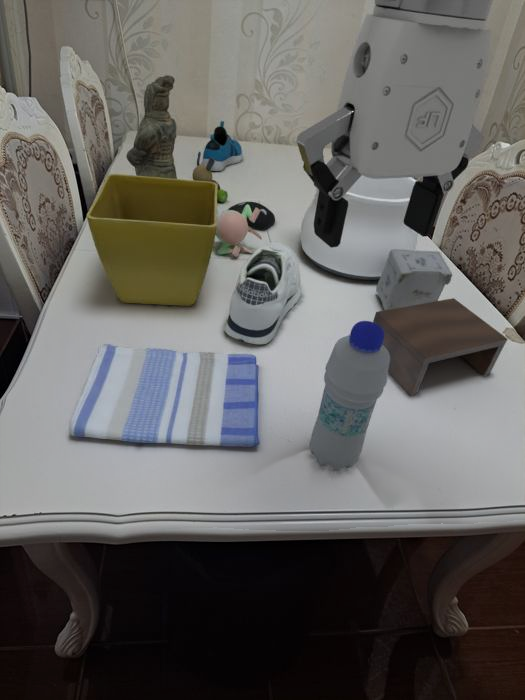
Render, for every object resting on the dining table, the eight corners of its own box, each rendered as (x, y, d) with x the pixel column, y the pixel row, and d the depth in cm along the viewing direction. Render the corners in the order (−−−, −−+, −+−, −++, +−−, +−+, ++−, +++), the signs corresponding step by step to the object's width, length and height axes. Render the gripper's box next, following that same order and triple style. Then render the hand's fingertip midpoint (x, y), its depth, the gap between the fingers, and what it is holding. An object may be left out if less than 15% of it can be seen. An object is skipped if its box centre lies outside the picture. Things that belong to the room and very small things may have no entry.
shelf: (489, 374, 78) (507, 338, 74) (410, 396, 72) (425, 358, 67) (440, 332, 86) (453, 298, 82) (365, 348, 80) (375, 311, 76)
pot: (271, 260, 101) (281, 176, 91) (312, 223, 120) (325, 149, 109) (404, 302, 93) (432, 215, 83) (426, 255, 112) (452, 179, 101)
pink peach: (275, 222, 102) (249, 212, 108) (246, 197, 95) (220, 187, 101) (245, 271, 103) (221, 258, 109) (214, 250, 96) (190, 237, 102)
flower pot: (212, 319, 82) (217, 225, 72) (96, 313, 80) (84, 216, 70) (213, 265, 97) (217, 181, 87) (116, 259, 95) (108, 173, 85)
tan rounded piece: (229, 201, 126) (232, 156, 119) (204, 208, 120) (206, 162, 113) (205, 190, 130) (206, 146, 123) (180, 196, 125) (180, 151, 118)
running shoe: (305, 271, 99) (315, 217, 92) (287, 356, 76) (298, 292, 69) (252, 262, 100) (258, 207, 93) (218, 343, 77) (222, 278, 70)
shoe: (248, 154, 160) (252, 115, 153) (224, 174, 142) (227, 130, 134) (222, 149, 161) (224, 110, 154) (195, 168, 143) (196, 125, 136)
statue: (152, 209, 116) (147, 66, 98) (186, 220, 113) (187, 74, 95) (122, 225, 108) (110, 71, 90) (157, 236, 105) (152, 80, 87)
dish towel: (101, 353, 72) (99, 337, 71) (259, 365, 74) (261, 350, 72) (63, 441, 59) (60, 425, 57) (258, 454, 60) (260, 438, 58)
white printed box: (386, 318, 88) (402, 267, 82) (373, 294, 95) (387, 245, 88) (437, 319, 90) (456, 269, 83) (421, 295, 96) (437, 247, 90)
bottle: (362, 479, 59) (410, 348, 47) (307, 475, 58) (340, 341, 46) (355, 437, 64) (395, 310, 52) (304, 433, 64) (333, 304, 52)
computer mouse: (235, 209, 122) (236, 193, 119) (278, 222, 118) (280, 206, 115) (219, 218, 116) (220, 202, 114) (263, 232, 112) (265, 216, 110)
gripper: (357, -14, 27) (308, 266, 37) (566, 13, 33) (475, 244, 44) (294, -22, 32) (266, 226, 42) (486, 3, 38) (421, 211, 49)
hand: (372, 235), depth 43 cm, fingers open, 9 cm apart
